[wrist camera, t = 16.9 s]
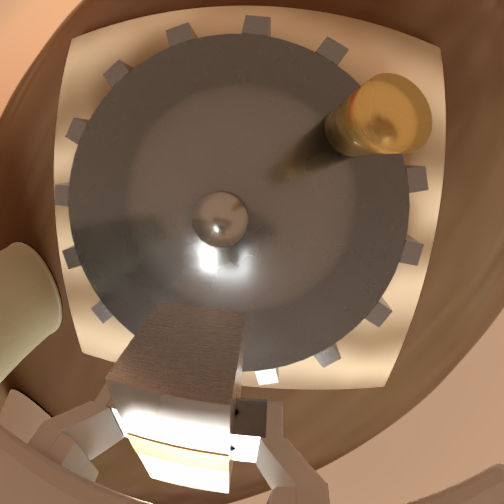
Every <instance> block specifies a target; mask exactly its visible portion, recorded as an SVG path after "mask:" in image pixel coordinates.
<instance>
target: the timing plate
mask: <svg viewBox="0 0 504 504" xmlns="http://www.w3.org/2000/svg"><path fill="white" fill-rule="evenodd" d="M246 15H252V16H263V17H271V36H270V37H274V38H279V39H282V40H285V41H289V42H292V43H295V44H298V45H300V46H303V47H305V48H308V49H310V50H312V51H314V52H316V50H317V49H318V48H319V46H320V45H321V44H322V42H323V41H324V40H325V38H326V37H327V36H328V37H330V38H331V39H333V40H335V41H337V42H338V43H340V44H341V45H343V46H345V47H346V48H348V49H349V50H348V52H347V53H346V55H345V56H344V57H343V59H342V60H341V62H340V63H339V64H338V67H340V68H341V69H343V70H344V71H345V72H347V73H348V74H349V75H350V76H351V77H352V78H353V79H354V80H355V81H357V82H358V83H359V84H360V85H361V86H362V85H363V84H364V83H365V82H366V81H368V80H369V79H370V78H372V77H373V76H375V75H377V74H381V73H394V74H398V75H401V76H403V77H405V78H407V79H408V80H410V81H411V82H413V83H414V84H415V85H416V86H417V87H418V88H419V89H420V90H421V92H422V93H423V94H424V96H425V98H426V99H427V101H428V104H429V106H430V109H431V114H432V130H431V134H430V136H429V139H428V140H427V142H426V143H425V144H424V146H422V147H421V148H420V149H418V150H416V151H414V152H410V153H402V156H403V160H404V164H405V165H415V166H426V173H427V181H428V189H429V190H425V191H419V192H413V193H409V202H410V208H409V222H408V231H407V235H409V236H411V237H412V238H414V239H416V240H418V241H419V242H421V243H423V244H424V246H423V250H422V253H421V256H420V260H419V263H418V266H415V265H410V264H405V263H400V262H399V264H398V266H397V269H396V272H395V274H394V276H393V278H392V280H391V282H390V283H389V285H388V287H387V289H386V291H385V293H384V294H383V295H382V298H383V299H384V300H385V301H386V303H387V304H388V305H389V307H390V308H391V309H392V311H393V312H392V313H391V314H390V315H389V317H388V318H387V319H386V320H385V321H384V322H383V324H382V325H381V326H380V327H377V326H376V325H374V324H372V323H371V322H369V321H367V320H366V319H365V318H364V319H363V320H362V321H361V322H360V324H359V325H358V326H357V327H355V328H354V329H353V330H352V331H351V332H349V333H348V334H347V335H346V336H344V337H343V338H342V339H341V340H339V341H338V342H336V344H337V347H338V350H339V353H340V356H341V359H339V360H337V361H335V362H334V363H332V364H330V365H328V366H326V367H324V368H323V367H322V366H321V365H320V363H319V362H318V361H317V359H316V358H315V357H314V355H313V356H311V357H309V358H307V359H305V360H302V361H299V362H296V363H293V364H290V365H287V366H283V367H278V369H279V382H278V383H271V384H263V385H259V383H258V380H257V377H256V374H255V371H248V372H242V381H241V386H252V387H264V388H282V389H354V388H371V387H383V386H384V385H385V383H386V381H387V379H388V377H389V375H390V373H391V370H392V368H393V366H394V364H395V361H396V359H397V357H398V354H399V352H400V349H401V347H402V344H403V342H404V339H405V337H406V334H407V331H408V329H409V326H410V323H411V320H412V317H413V314H414V311H415V308H416V305H417V302H418V299H419V296H420V292H421V289H422V285H423V282H424V278H425V275H426V271H427V267H428V263H429V259H430V254H431V250H432V245H433V241H434V236H435V231H436V225H437V219H438V213H439V207H440V200H441V192H442V183H443V173H444V161H445V140H446V108H445V88H444V76H443V66H442V58H441V51H440V48H439V47H437V46H434V45H432V44H430V43H427V42H425V41H423V40H420V39H418V38H415V37H413V36H410V35H407V34H405V33H402V32H399V31H396V30H393V29H390V28H387V27H384V26H381V25H377V24H374V23H370V22H366V21H363V20H359V19H355V18H350V17H346V16H341V15H336V14H331V13H325V12H319V11H312V10H305V9H297V8H286V7H273V6H218V7H204V8H194V9H185V10H178V11H171V12H165V13H160V14H154V15H149V16H145V17H140V18H136V19H132V20H128V21H124V22H121V23H117V24H114V25H110V26H107V27H104V28H101V29H98V30H95V31H92V32H89V33H86V34H84V35H81V36H78V37H76V38H73V39H72V41H71V44H70V48H69V52H68V56H67V60H66V65H65V69H64V74H63V80H62V85H61V91H60V97H59V104H58V112H57V121H56V133H55V148H54V201H55V184H61V183H66V182H69V181H70V174H71V169H72V164H73V160H74V156H75V152H76V149H77V147H78V144H76V143H74V142H73V141H71V140H69V139H68V138H66V137H65V136H66V134H67V131H68V129H69V127H70V124H71V122H72V120H73V117H75V118H82V119H88V120H90V118H91V116H92V114H93V113H94V111H95V110H96V108H97V107H98V106H99V104H100V103H101V101H102V100H103V98H104V97H105V96H106V95H107V94H108V93H109V91H110V90H111V89H112V87H111V86H110V84H109V83H108V81H107V80H106V79H105V77H104V76H103V74H104V73H105V72H106V71H107V70H108V69H109V68H110V67H111V66H112V65H113V64H115V63H116V62H117V61H118V60H119V59H120V60H122V61H123V62H125V63H126V64H128V65H130V66H131V67H133V68H135V67H136V66H138V65H139V64H141V63H142V62H144V61H145V60H147V59H149V58H150V57H152V56H154V55H155V54H157V53H159V52H161V51H163V50H165V49H168V48H169V44H168V39H167V34H166V30H168V29H171V28H173V27H176V26H179V25H182V24H185V23H188V22H189V24H190V25H191V27H192V29H193V30H194V32H195V33H196V35H197V37H198V38H201V37H205V36H212V35H221V34H242V28H243V24H244V20H245V16H246ZM55 217H56V228H57V238H58V246H59V253H60V260H61V266H62V272H63V278H64V283H65V288H66V293H67V298H68V302H69V306H70V310H71V314H72V318H73V322H74V326H75V329H76V333H77V336H78V340H79V343H80V346H81V349H82V352H83V353H85V354H88V355H92V356H95V357H98V358H102V359H105V360H108V361H112V362H116V361H117V360H118V358H119V357H120V355H121V354H122V353H123V351H124V350H125V348H126V347H127V346H128V344H129V343H130V341H131V340H132V339H133V337H134V336H135V335H134V334H132V333H131V332H130V331H129V330H128V329H127V328H125V327H124V326H123V325H122V324H121V323H120V322H119V321H118V320H117V319H116V318H115V317H114V316H112V317H111V318H110V319H108V320H107V321H106V322H105V323H102V322H101V321H100V319H99V318H98V317H97V316H96V315H95V313H94V312H93V311H92V310H91V308H92V307H93V306H94V305H96V304H97V303H98V302H99V301H100V298H99V297H98V296H97V294H96V293H95V291H94V290H93V288H92V286H91V284H90V283H89V281H88V279H87V277H86V275H85V273H84V271H83V268H82V266H79V267H75V268H72V269H68V267H67V264H66V261H65V258H64V255H63V253H62V251H63V250H65V249H67V248H69V247H71V246H73V245H74V242H73V239H72V234H71V228H70V221H69V207H67V206H59V205H55Z"/></svg>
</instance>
